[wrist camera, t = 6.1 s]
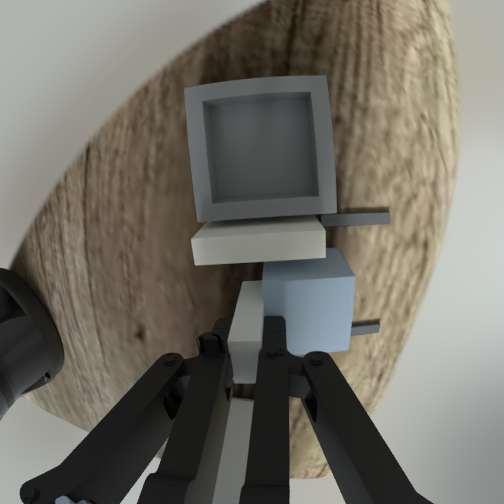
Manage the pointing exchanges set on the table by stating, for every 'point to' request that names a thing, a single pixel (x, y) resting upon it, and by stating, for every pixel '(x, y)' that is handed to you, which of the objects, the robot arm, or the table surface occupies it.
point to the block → (311, 301)
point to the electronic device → (234, 452)
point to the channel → (259, 240)
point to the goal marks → (352, 220)
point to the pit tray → (261, 148)
